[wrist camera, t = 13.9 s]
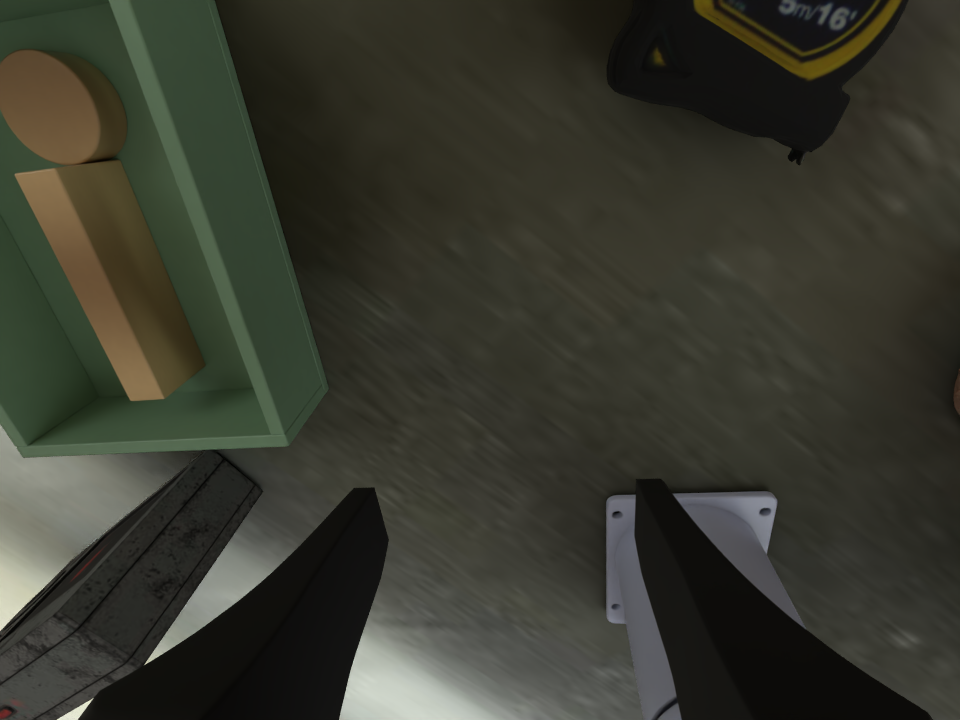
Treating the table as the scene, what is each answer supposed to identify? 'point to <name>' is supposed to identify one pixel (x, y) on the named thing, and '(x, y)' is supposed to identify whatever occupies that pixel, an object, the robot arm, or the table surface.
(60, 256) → the spoon
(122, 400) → the green storage tray
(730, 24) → the tape measure
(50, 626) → the camera
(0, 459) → the table surface
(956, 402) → the mushroom
